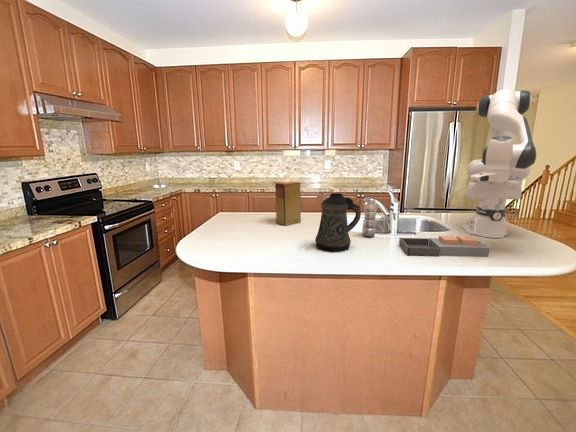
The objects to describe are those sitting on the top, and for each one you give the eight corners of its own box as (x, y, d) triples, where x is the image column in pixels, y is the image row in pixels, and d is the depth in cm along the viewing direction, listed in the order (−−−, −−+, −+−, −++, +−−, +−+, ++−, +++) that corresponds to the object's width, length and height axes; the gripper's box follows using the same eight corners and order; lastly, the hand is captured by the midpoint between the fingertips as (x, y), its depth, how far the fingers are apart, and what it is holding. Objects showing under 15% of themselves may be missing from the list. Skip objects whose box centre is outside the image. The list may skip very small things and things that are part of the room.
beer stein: (309, 243, 144) (309, 192, 138) (344, 238, 150) (345, 190, 145) (325, 254, 129) (326, 198, 123) (363, 248, 135) (365, 195, 130)
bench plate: (428, 246, 138) (429, 238, 137) (474, 247, 135) (475, 239, 134) (438, 255, 126) (439, 246, 125) (488, 256, 124) (489, 247, 123)
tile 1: (438, 240, 134) (439, 235, 133) (452, 240, 133) (453, 235, 132) (443, 244, 128) (444, 239, 127) (458, 244, 127) (459, 240, 127)
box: (399, 244, 140) (399, 237, 139) (427, 245, 139) (428, 238, 138) (407, 255, 127) (407, 247, 126) (439, 256, 125) (439, 248, 124)
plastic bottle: (360, 236, 154) (361, 198, 149) (366, 233, 159) (368, 196, 154) (371, 239, 149) (373, 200, 145) (377, 236, 154) (380, 198, 149)
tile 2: (456, 240, 133) (456, 235, 132) (470, 240, 132) (470, 236, 131) (462, 244, 127) (462, 240, 126) (477, 245, 126) (477, 240, 126)
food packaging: (291, 219, 191) (291, 181, 185) (301, 222, 184) (301, 182, 178) (275, 223, 183) (274, 182, 177) (284, 226, 176) (284, 184, 170)
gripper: (518, 175, 124) (512, 208, 127) (466, 176, 126) (462, 207, 129) (528, 177, 118) (522, 211, 121) (473, 177, 120) (469, 210, 123)
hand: (490, 209), depth 125 cm, fingers open, 4 cm apart
